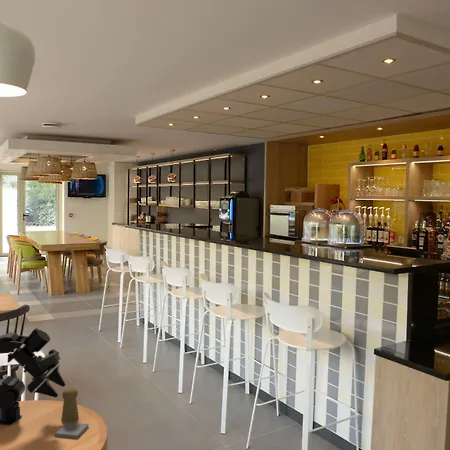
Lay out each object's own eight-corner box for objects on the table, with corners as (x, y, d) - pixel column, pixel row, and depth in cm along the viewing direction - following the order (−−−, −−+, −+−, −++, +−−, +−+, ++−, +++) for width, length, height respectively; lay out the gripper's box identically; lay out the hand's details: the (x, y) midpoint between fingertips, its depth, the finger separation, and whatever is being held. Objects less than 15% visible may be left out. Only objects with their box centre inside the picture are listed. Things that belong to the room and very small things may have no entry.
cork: (73, 424, 162) (73, 393, 161) (57, 422, 163) (57, 391, 162) (81, 416, 168) (81, 386, 167) (66, 414, 169) (66, 385, 168)
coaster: (55, 436, 153) (55, 433, 153) (67, 424, 161) (67, 421, 161) (77, 438, 152) (77, 435, 152) (88, 426, 160) (88, 424, 160)
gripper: (36, 353, 154) (70, 385, 155) (53, 337, 173) (83, 366, 174) (12, 377, 154) (46, 408, 155) (32, 358, 172) (62, 386, 174)
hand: (61, 390), depth 164 cm, fingers open, 9 cm apart
